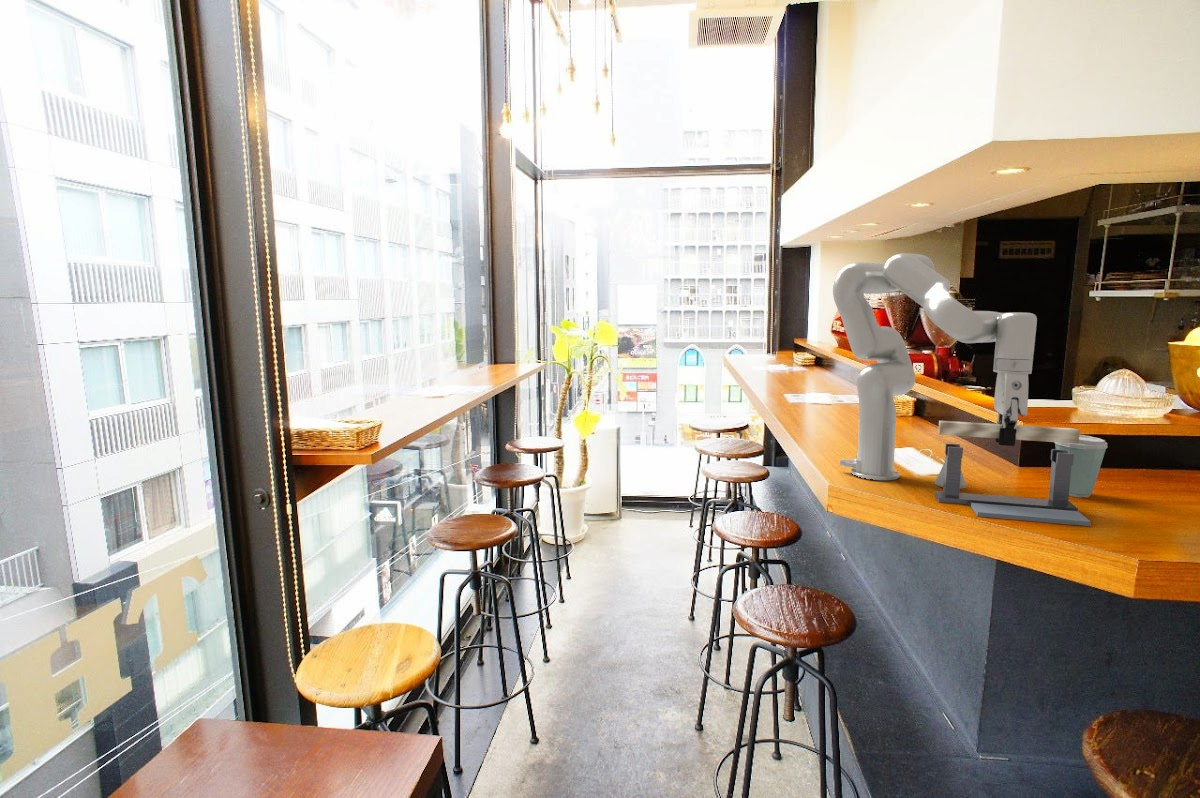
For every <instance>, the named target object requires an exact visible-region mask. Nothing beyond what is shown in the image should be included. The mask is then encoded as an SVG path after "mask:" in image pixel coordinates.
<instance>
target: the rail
mask: <svg viewBox="0 0 1200 798" xmlns="http://www.w3.org/2000/svg"><path fill="white" fill-rule="evenodd" d="M1000 428H1002V424H997V423H987V422H986V423H984V422H969V421H954V420H953V421H952V420H938V430H937V433H938V434H939V435H941V436H957V437H973V438H988V439H989V438H990V439H995V438H999V433H1000ZM1080 433H1081V431H1080V430H1079V429H1078V428H1073V427H1054V426H1053V427H1052V426H1038V425H1022V424H1017V428H1016V439H1015V441H1016V440H1019V441H1030V442H1031V441H1034V442H1046V443H1047V442H1049V443H1054V442H1061V443H1077V444H1078V442H1079V435H1081V434H1080Z"/></svg>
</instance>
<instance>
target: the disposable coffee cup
mask: <svg viewBox="0 0 1200 798" xmlns="http://www.w3.org/2000/svg"><path fill="white" fill-rule="evenodd" d="M1053 443H1054V445H1055V449H1059V450H1068V453H1073V454H1074V459H1073V465H1072V466H1071V477H1070V488H1069V497H1074V498H1082V497H1085V498H1090V497H1089V496H1091V495H1092V494H1093V493H1094V488H1095V485H1096V482H1097V479H1098V475H1099V472H1100V469H1101V466H1102V462H1103V460H1104V456H1105V453H1106V449H1108V442H1106V440H1105V439H1102V438H1100V437H1094V436H1091V435H1084V434H1079V442H1078V444H1077V443H1061V442H1053Z"/></svg>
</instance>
